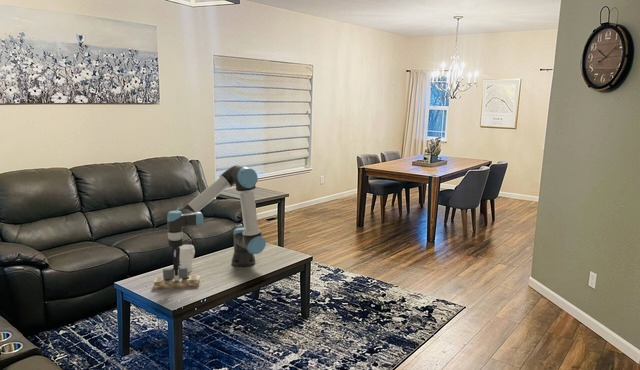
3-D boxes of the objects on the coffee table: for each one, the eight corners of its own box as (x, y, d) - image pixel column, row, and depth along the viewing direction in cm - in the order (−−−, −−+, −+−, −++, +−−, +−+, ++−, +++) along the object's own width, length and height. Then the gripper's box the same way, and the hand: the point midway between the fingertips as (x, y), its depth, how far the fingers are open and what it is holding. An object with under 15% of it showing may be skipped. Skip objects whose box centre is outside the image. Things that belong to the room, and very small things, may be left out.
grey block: (188, 280, 262) (187, 267, 261) (187, 282, 260) (187, 268, 258) (164, 282, 260) (163, 269, 258) (163, 284, 257) (162, 270, 256)
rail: (199, 281, 266) (199, 275, 265) (199, 286, 259) (198, 279, 258) (156, 284, 261) (155, 277, 260) (154, 289, 254) (153, 282, 254)
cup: (190, 274, 278) (189, 250, 275) (174, 272, 280) (173, 248, 277) (198, 268, 288) (197, 244, 285) (182, 266, 290) (181, 243, 287)
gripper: (170, 234, 263) (171, 274, 267) (166, 243, 247) (168, 285, 251) (183, 234, 264) (185, 273, 268) (181, 242, 248) (182, 284, 252)
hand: (177, 278), depth 259 cm, fingers open, 4 cm apart
